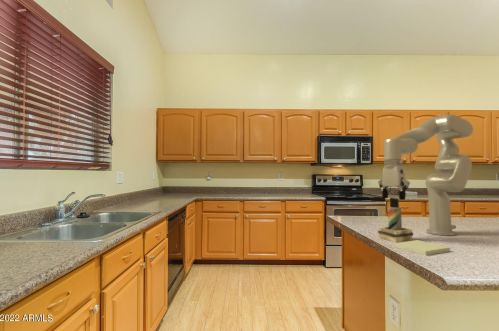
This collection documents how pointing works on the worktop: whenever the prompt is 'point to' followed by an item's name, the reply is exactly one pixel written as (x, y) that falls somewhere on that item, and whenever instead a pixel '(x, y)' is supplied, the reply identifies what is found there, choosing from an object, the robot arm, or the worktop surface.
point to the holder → (395, 234)
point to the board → (422, 247)
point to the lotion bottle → (394, 215)
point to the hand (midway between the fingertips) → (393, 198)
